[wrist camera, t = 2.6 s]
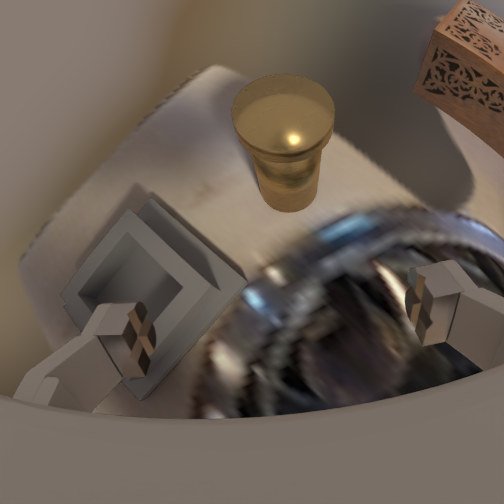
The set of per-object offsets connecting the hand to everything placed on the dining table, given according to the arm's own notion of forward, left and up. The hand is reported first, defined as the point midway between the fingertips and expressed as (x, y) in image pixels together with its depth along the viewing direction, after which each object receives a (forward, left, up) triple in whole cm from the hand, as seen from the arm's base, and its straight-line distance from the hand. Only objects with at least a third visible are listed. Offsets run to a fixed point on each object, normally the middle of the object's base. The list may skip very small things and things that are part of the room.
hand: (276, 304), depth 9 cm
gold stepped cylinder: (+10, +8, -17) cm, 21 cm away
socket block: (-6, +11, -17) cm, 21 cm away
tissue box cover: (+36, -8, -18) cm, 41 cm away
